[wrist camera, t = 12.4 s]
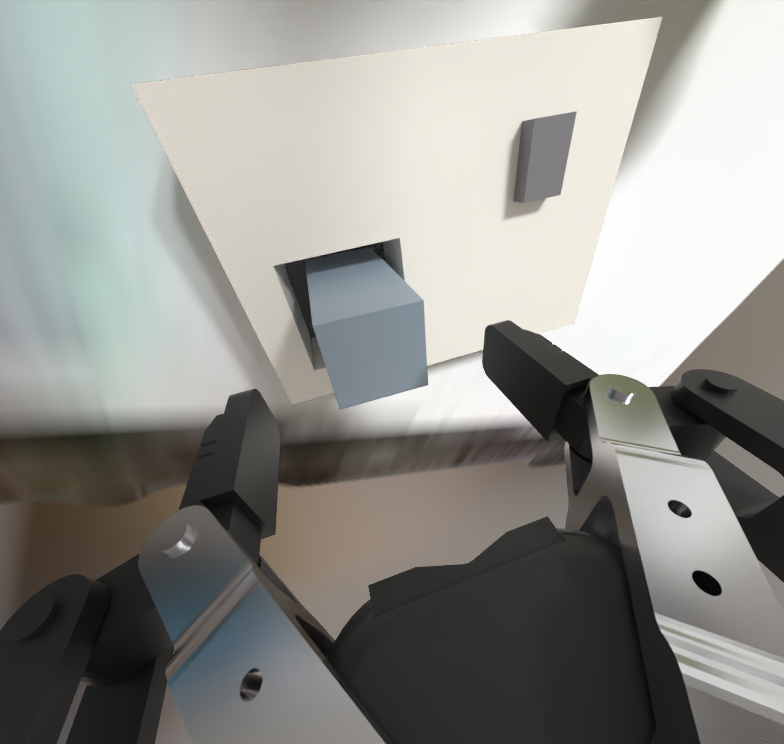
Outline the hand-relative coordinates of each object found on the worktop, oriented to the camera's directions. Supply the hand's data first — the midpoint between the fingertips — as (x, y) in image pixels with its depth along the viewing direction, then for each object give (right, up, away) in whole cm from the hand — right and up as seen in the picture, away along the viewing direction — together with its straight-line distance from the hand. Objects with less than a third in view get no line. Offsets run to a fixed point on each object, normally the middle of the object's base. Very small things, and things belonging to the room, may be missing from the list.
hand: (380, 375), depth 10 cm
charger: (-3, +6, +8) cm, 10 cm away
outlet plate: (+2, +9, +8) cm, 12 cm away
